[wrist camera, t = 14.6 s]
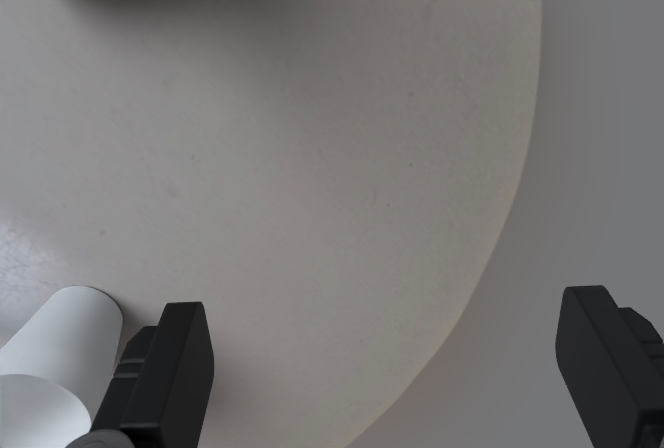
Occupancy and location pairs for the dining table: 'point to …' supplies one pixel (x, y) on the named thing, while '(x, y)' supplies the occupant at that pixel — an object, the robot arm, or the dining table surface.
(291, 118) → the dining table surface
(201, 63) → the dining table surface
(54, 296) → the cup
